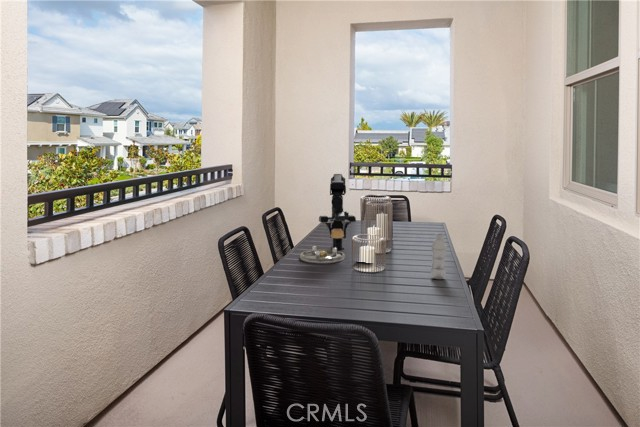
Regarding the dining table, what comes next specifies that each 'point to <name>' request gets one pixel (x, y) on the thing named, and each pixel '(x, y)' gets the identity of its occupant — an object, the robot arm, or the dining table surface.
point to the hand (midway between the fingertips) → (337, 235)
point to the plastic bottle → (438, 257)
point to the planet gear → (337, 233)
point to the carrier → (322, 256)
